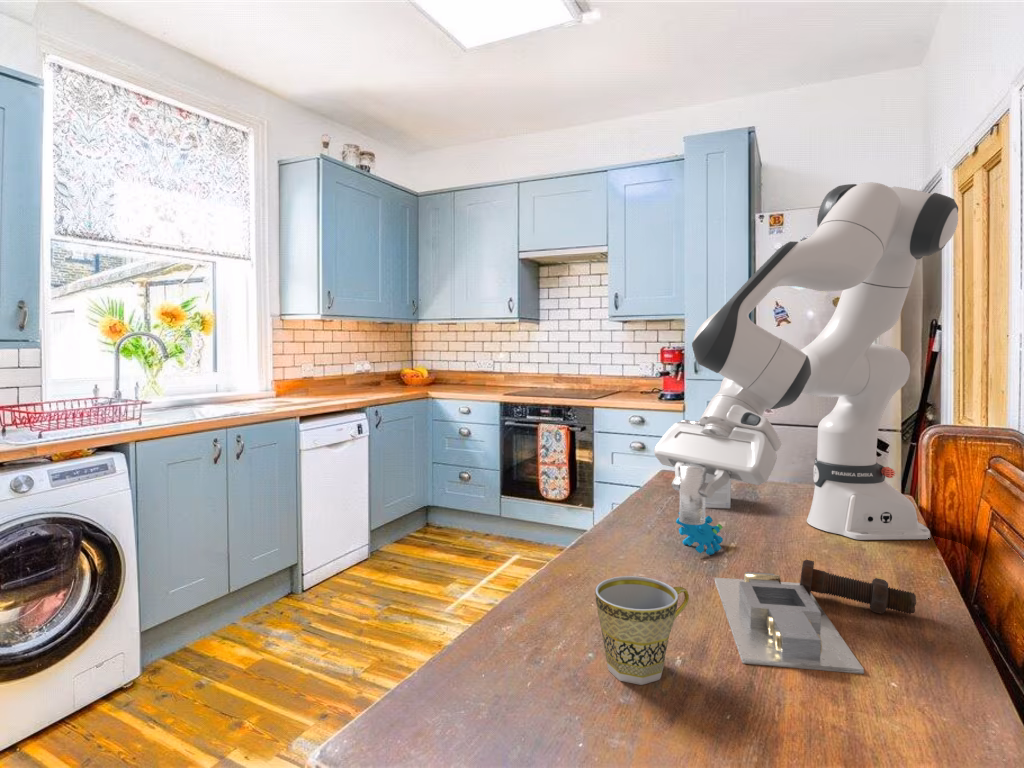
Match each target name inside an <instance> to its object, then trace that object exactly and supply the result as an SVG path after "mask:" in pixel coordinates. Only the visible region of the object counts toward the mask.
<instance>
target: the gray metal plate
mask: <svg viewBox="0 0 1024 768" xmlns="http://www.w3.org/2000/svg"><path fill="white" fill-rule="evenodd" d="M714 582H715V586H716V589H717V592H718V595H719V598H720V601H721V604H722V608H723V610H724V613H725V616H726V618H727V622H728V625H729V627H730V631H731V633H732V637H733V639H734V642H735V645H736V648H737V651H738V655H739V657H740V660H741V664H749V665H758V666H769V667H772V666H773V667H782V668H791V669H803V670H804V669H805V670H813V671H815V670H816V671H826V672H838V673H847V674H857V675H864V673H865V669H864V667H863V666H862V665H861V663H860V661H859V660H858V659H857V657H856V655H854V653H853V652H852V650H851V648H850V647H849V646H848V644H847V643H846V642H845V640H844V638H843V637H842V636H841V635H840V633H839V631H838V630H837V628H836V627H835V625H834V624H833V623H832V621H831V620H830V618H829V617H828V615H827V614H826V613H825V611H824V609H822V606H820V604H819V603H818V601H817V600H816V598H815V597H814V595H813V594H812V591H811V592H810V596H809V594H808V593H807V591H806V590H805V588H804V587H803V586H801V585H800V582H790V581H781V576H780V575H779V574H775V573H772V572H771V573H769V572H768V573H766V572H755V571H753V572H750V571H745V573H744V574H743V579H742V578H740V579H739V578H728V577H727V578H726V577H725V578H724V577H714Z"/></svg>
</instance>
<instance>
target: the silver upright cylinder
mask: <svg viewBox="0 0 1024 768" xmlns="http://www.w3.org/2000/svg"><path fill="white" fill-rule="evenodd" d="M703 482H704V483H706V466H704V465H699V464H682V465H680V491H679V509H678V510H679V512H678V513H679V514H678V515H679V516H678V518H679V521H680V522H682V523H684V524H689V525H701V524H704V523H705V518H706V508H705V499H706V497H703V496H701V494H700V493H699V489H700V488H701V487H702V484H703Z"/></svg>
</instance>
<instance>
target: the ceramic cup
mask: <svg viewBox="0 0 1024 768" xmlns="http://www.w3.org/2000/svg"><path fill="white" fill-rule="evenodd" d="M594 592H595V593H594V594H595V603H596V609H597V615H598V616H597V617H598V620H599V624H600V628H601V633H602V634H601V637H602V641H603V647H604V652H605V659H606V665H607V669H608V671H609V672H610V673H611V674H612V675H613V676H614V677H615V678H616V679H617V680H618V681H620V682H624V683H630V684H634V685H640V686H644V685H646V684H651V683H653V682H657V681H660V680H661V678H662V674H663V670H664V664H665V661H666V655H667V654H666V653H667V650H668V649H667V648H668V644H669V638H670V634H671V631H672V628H673V626H674V623H675V620H676V618H677V617H679V615H680V614H681V613H682V611H684V610H685V608H686V607H687V605H688V602H689V601H690V600H689V599H690V596H689V592H688V590H687V589H686V588H685V587H682V586H674V587H672V586H671V585H669V584H668V583H665V582H664V581H660V580H657V579H655V578H650V577H644V576H633V575H631V576H630V575H625V576H615V577H611V578H608V579H605V580H602V581H601V582H599V583H597V585H596V587H595V590H594ZM681 593H683V596H684V599H683V600H682V603H681V604H680V606H679V607H678V600H679V594H681Z"/></svg>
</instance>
